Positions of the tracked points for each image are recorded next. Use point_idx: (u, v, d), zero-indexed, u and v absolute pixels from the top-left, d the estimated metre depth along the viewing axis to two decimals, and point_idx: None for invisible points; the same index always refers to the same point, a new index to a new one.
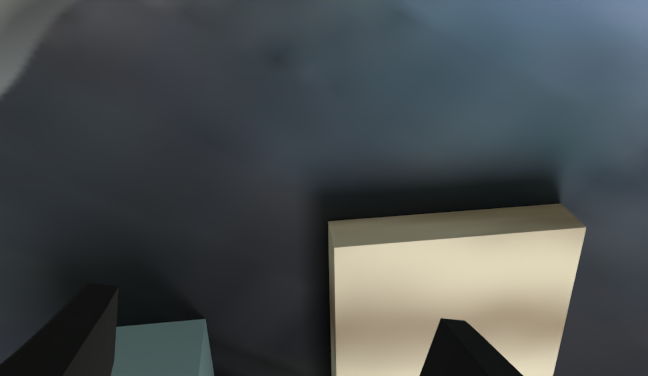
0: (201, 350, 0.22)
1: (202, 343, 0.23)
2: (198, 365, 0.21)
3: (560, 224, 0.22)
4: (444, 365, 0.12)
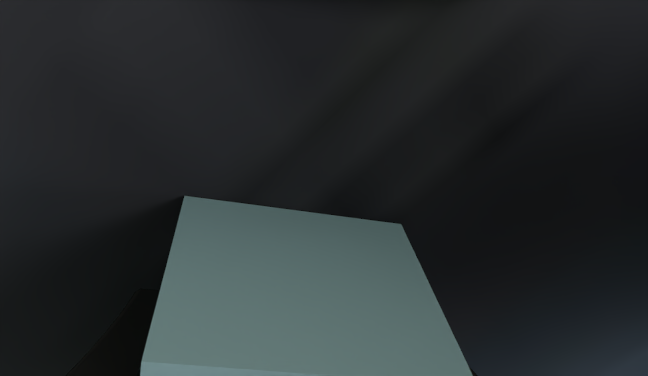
0: (175, 244, 0.10)
1: (179, 232, 0.11)
2: (164, 273, 0.09)
3: None
4: None
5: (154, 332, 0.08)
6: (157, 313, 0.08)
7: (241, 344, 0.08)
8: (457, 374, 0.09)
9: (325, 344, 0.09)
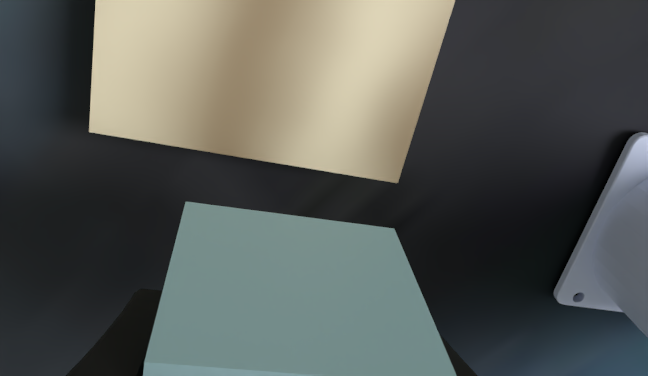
0: (176, 249, 0.11)
1: (180, 238, 0.11)
2: (166, 277, 0.10)
3: None
4: None
5: (156, 334, 0.09)
6: (159, 316, 0.09)
7: (237, 346, 0.09)
8: (442, 374, 0.09)
9: (317, 346, 0.09)
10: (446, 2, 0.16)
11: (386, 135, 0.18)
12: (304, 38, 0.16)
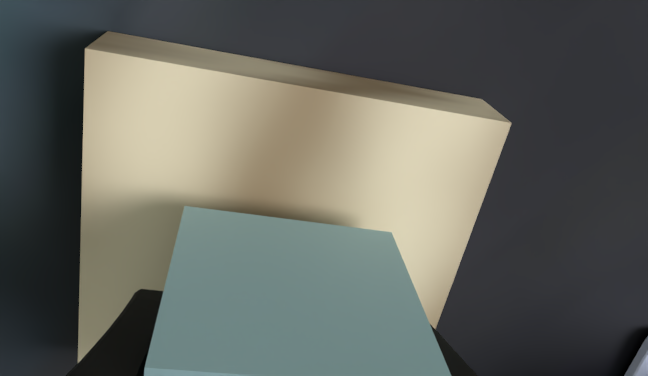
0: (175, 254, 0.11)
1: (179, 243, 0.11)
2: (166, 282, 0.10)
3: None
4: None
5: (156, 339, 0.09)
6: (159, 321, 0.09)
7: (236, 351, 0.09)
8: None
9: (315, 350, 0.09)
10: (453, 257, 0.15)
11: None
12: None
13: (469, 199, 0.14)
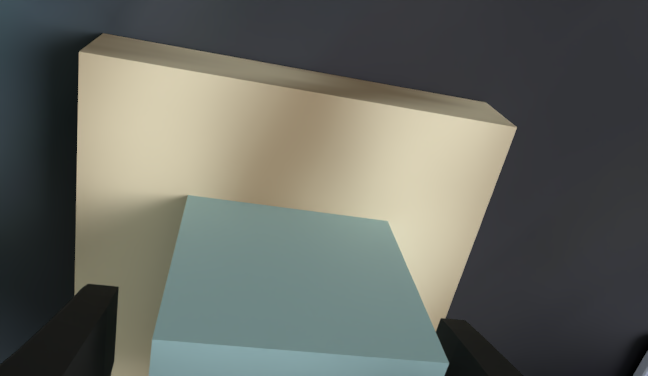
0: (179, 239, 0.11)
1: (183, 228, 0.12)
2: (171, 264, 0.10)
3: None
4: None
5: (163, 315, 0.09)
6: (165, 299, 0.09)
7: (239, 326, 0.09)
8: (431, 353, 0.10)
9: (313, 326, 0.10)
10: (456, 264, 0.15)
11: None
12: None
13: (473, 205, 0.14)
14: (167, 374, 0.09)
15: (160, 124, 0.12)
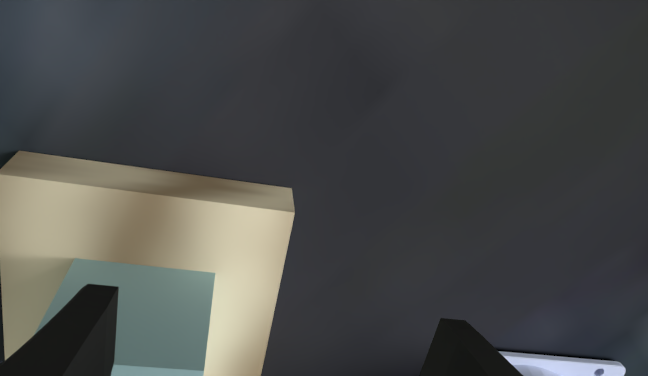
0: (58, 292, 0.18)
1: (63, 284, 0.18)
2: (48, 310, 0.17)
3: None
4: (444, 365, 0.12)
5: None
6: None
7: None
8: (195, 364, 0.16)
9: (125, 349, 0.16)
10: (270, 300, 0.21)
11: None
12: None
13: (274, 262, 0.21)
14: None
15: (52, 215, 0.19)
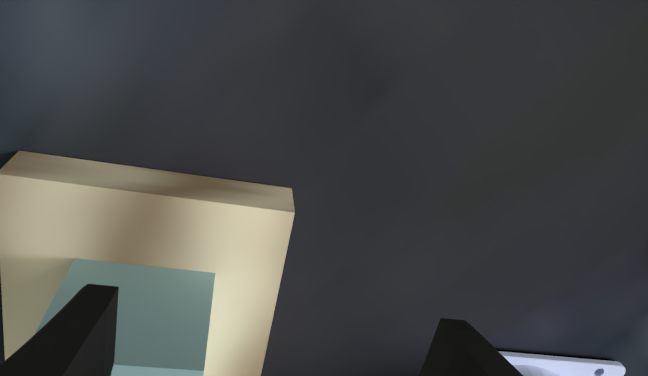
0: (58, 292, 0.18)
1: (63, 284, 0.18)
2: (47, 310, 0.17)
3: None
4: (444, 365, 0.12)
5: None
6: None
7: None
8: (195, 364, 0.16)
9: (125, 349, 0.16)
10: (270, 300, 0.21)
11: None
12: None
13: (274, 262, 0.21)
14: None
15: (52, 215, 0.19)
